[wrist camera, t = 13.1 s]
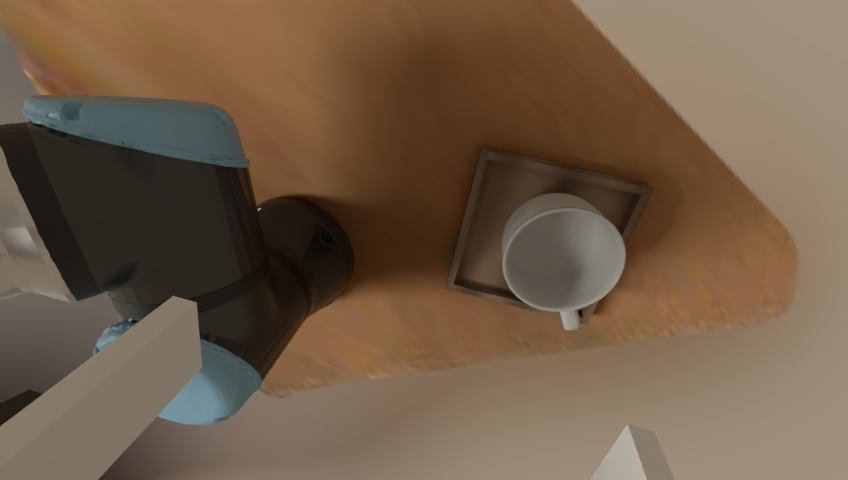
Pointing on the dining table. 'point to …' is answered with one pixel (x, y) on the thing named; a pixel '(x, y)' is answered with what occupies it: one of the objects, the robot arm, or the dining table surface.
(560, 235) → the teacup
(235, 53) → the dining table surface
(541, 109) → the dining table surface
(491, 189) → the shallow tray
